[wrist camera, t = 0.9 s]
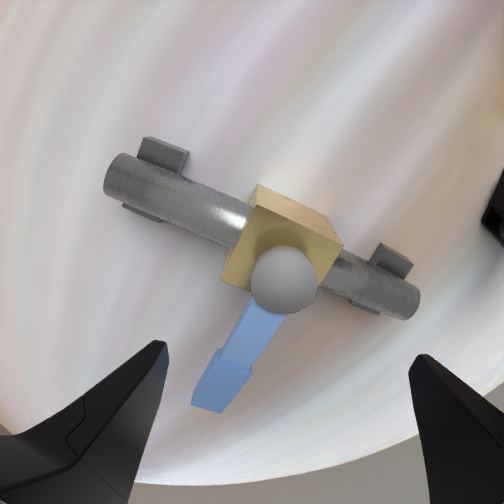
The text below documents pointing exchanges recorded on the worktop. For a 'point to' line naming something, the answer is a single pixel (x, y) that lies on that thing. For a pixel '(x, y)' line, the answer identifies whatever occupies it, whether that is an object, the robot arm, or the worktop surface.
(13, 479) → the robot arm
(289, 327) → the worktop surface
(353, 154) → the worktop surface
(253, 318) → the valve lever
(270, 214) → the pipe run
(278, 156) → the worktop surface
